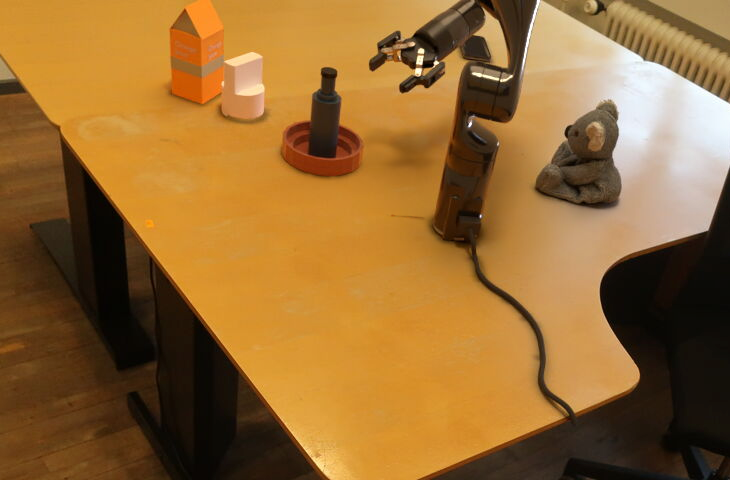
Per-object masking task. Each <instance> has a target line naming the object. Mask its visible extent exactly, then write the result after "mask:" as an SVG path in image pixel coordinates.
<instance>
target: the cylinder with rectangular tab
mask: <svg viewBox="0 0 730 480" xmlns="http://www.w3.org/2000/svg"><path fill="white" fill-rule="evenodd" d="M263 59H264V57H263V56H262V55H261V54H259V53H257V52H254V51H251V52H248V53H244V54H242V55H238V56H235V57H232V58H230V59H226V60H224V81H223V82H222V92H221V113H222V114H223V115H224V117H227V118H228V116H230V117H233V118H237V119H242V120H243V119H247V120H248V119H256V118H259V117H261V116H262V115H263V114H264V111H265V92H266V91H265V89H266V87H265V85H264V84H263V65H264V64H263V63H264V62H263V61H264V60H263Z"/></svg>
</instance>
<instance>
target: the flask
mask: <svg viewBox="0 0 730 480" xmlns="http://www.w3.org/2000/svg"><path fill="white" fill-rule="evenodd" d="M320 77H321V78H320V88H318V89H317V90H316V91H314V92H313V93H312V95H311V105H310V132H309V145H308V155H311V156H315V157H321V158H336V150H337V140H338V130H339V124H340V120H341V119H340V118H341V109H342V97H341V95H340V94H338V92H337V90H336V82H337V78H338V70H337V69H336V68H334V67H331V66H324V67H322V68H320Z"/></svg>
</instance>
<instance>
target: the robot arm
mask: <svg viewBox="0 0 730 480" xmlns="http://www.w3.org/2000/svg"><path fill="white" fill-rule="evenodd" d="M540 4H541V0H458V1H457V2H455V3H454V4H452V5H451V6H450V7H449V8H447V9H446V10H445V11H442V12H440V13H439V14H437V15H436V16H435V17H433V18H432V19H430V20H429V21H428V22H426V23H425V24H423V25H422V26H420V27H419V28H418V29H417V30H415V32H414V33H413V35H412V36H410V37H407V38H405V37H404V36H402V32H401V31H400V30H395V31H393V32H392V33H391V34H389V35H387V36H385V38H383V39H381V40H380V41H378V42H377V43H376V47H377V48H376V49H377V54H376V55H374V56H373V57H371V58H370V59H369V61H368V68H369V71H370V72H372V73H373V72H375V71H377V70H378V69H379V68H380V67H382V66H383V65H385V64H386V63H387V62H394V63H402V64H403V65H406V66H408V68H409V69H411V70H412V71H413V70H415V71H414V74H410V75H409V76H408V77H407V78H405V79H404V80H403V81H402V82H400V83H399V85H398V89H399V93H401V94H402V95H403V94H407V93H409V92H410V91H412V90H413V89H414V88H415V87H418V86H423V88H424V89H430V88H431V87H432V86H433V85H434V84H436V82H438V81H439V80H440V79H441V78H443V76H445V75H446V62H445V61H444V59H446V58H447V57H448V56H449V55H451V54H452V53H454V52H455V51H456V50H458V49H459V48H460V46H461V45H462V44H463V43H464V42H465V41H466V40H467V39H468V38H470V37H471V36H472V35H475V34H476V33H477V32H479V31H480V30H481V29H483V27H484V26H485V24H486V21H487V20H486V17H487V16H486V13H488V15H490V16H491V17H492V18H493V19H495V20H496V21H498V23H499V26H500V29H501V31H502V32H501V33H502V35H503V38H504V44H505V47H506V48H505V49H506V54H507V67H503V66H500V65H496V64H491V63H488V62H485V61H480V60H473V59H469V60H468V61H467V62H466V63H465V64H464V65H463V68H462V69H461V72H460V76H459V80H458V83H457V84H458V86H457V92H456V99H455V105H454V114H453V120H452V125H451V130H450V134H449V139H448V145H447V149H446V153H445V154H446V155H445V158H444V164H443V167H442V168H443V169H442V175H441V180H440V185H439V189H438V194H437V199H436V204H435V205H436V206H435V210H434V215H433V218H432V223H431V224H432V228H433V229H434V231H435V232H436V233H437V234H438V235H440V236H441V237H442V239H443V240H445V241H457V242H469V243H470V250H471V257H472V262H473V265H474V270H475V273H476V275H477V277H479V279H480V280H481V281H482V282H483V284H485V285H486V287H488V288H490V289H491V290H492V291H493V292H495V293H497V294H498V295H500V296H502V297H503V298H504V299H506V300H508V301H509V302H510V303H511V304H512V305H514V306H515V308H517V310H519V311H520V312H521V313H522V314H523V315H524V317H525V318H526V319H527V320H528V321H529V323H530V324H531V326H532V327H533V330H534V331H535V333H536V337H537V340H538V349H539V354H540V355H539V357H540V359H539V360H540V362H539V368H538V374H537V378H538V384H539V386H540V389H541V390H542V392H543V393H544V394H545V396H546V397H547V398H549V399H550V400H551V401H553V402H554V403H556V404H558V405H559V406H560V407H562V408H563V409H564V410H565V412H566V413H567V414H568V416H569V418H570V422H571V425H572V426H573V427H575V428H578V427H579V423H578V419H577V416H576V413H575V411H574V410H573V408H572V407H571V406H570V405H569V404H568V403H567V402H566V401H565V400H563V398H561V397H559V396H558V395H556V394H554V392H552V391H551V390H550V389H549V388H548V386H547V384H546V382H545V369H546V362H547V355H546V347H545V340H544V336H543V333H542V331H541V328H540V326H539V324H538V323H537V321H536V319H535V318H534V316H532V314H531V313H530V312H529V310H527V309H526V308H525V307H524V305H522V304H521V303H520V302H519V301H518V300H517V299H515V298H514V296H512V295H511V294H509V293H508V292H506V291H505V290H503V289H502V288H500V287H498V286H497V285H495V284H494V283H492V281H490V280H489V279H488V278H487V277H486V276H485V274H484V273H483V272H482V270H481V268H480V263H479V259H478V254H477V244H476V238H477V237H478V236H480V232H481V229H482V225H483V224H482V220H483V215H484V211H485V207H486V203H487V199H488V194H489V190H490V186H491V181H492V177H493V173H494V169H495V165H496V161H497V157H498V153H499V148H500V140H499V138H498V136H497V135H496V134H495V133H494V131H492V130H491V129H489V128H487V127H486V126H485V125H483V124H482V123H481V122H479V120H478V119H480V120H481V119H482V120H486V121H491V122H495V123H498V124H509V123H510V122H511V121H512V120H513V118H514V116H515V114H516V112H517V109H518V105H519V102H520V97H521V92H522V86H523V82H524V75H525V69H526V65H527V59H528V55H529V54H528V53H529V48H530V44H531V37H532V34H533V31H534V30H533V29H534V26H535V22H536V18H537V15H538V11H539V9H540V8H539V7H540ZM485 12H486V13H485ZM398 52H399V53H400V54H399V55H398ZM426 69H430V70H429V71H428V72H427V73H426V74H424V71H425V70H426ZM476 118H478V119H476Z"/></svg>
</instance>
